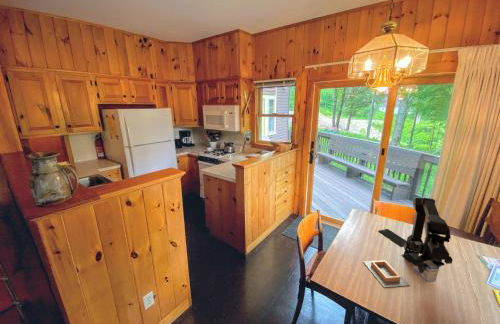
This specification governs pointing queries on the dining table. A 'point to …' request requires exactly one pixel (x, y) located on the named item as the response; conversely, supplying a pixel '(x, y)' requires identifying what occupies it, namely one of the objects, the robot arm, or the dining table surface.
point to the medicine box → (428, 272)
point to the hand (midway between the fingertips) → (424, 272)
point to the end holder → (385, 273)
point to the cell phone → (393, 237)
